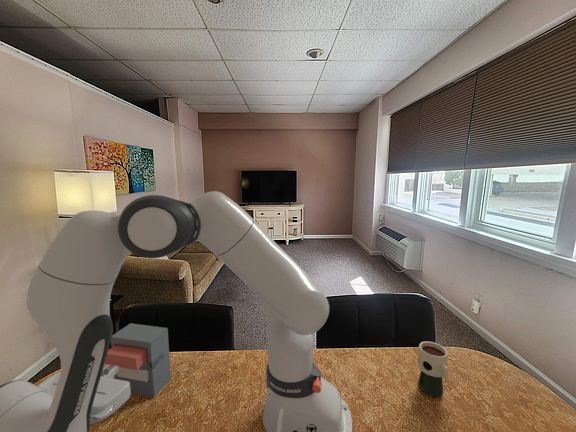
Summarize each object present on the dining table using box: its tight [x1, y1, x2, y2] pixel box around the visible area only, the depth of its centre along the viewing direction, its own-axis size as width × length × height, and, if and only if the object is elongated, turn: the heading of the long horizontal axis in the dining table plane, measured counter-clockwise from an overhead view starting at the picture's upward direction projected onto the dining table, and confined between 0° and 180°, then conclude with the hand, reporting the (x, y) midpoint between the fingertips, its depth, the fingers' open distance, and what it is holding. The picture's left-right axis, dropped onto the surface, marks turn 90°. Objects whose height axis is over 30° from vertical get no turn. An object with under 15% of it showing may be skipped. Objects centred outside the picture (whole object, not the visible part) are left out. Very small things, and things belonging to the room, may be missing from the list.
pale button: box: [117, 367, 150, 382], centre depth 72 cm, size 4×10×3 cm, turn 78°
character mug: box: [417, 341, 449, 398], centre depth 71 cm, size 11×7×13 cm, turn 8°
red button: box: [104, 344, 148, 370], centre depth 68 cm, size 4×10×3 cm, turn 78°
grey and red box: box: [110, 323, 172, 398], centre depth 74 cm, size 7×13×16 cm, turn 78°
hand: (114, 367), depth 64 cm, fingers closed
